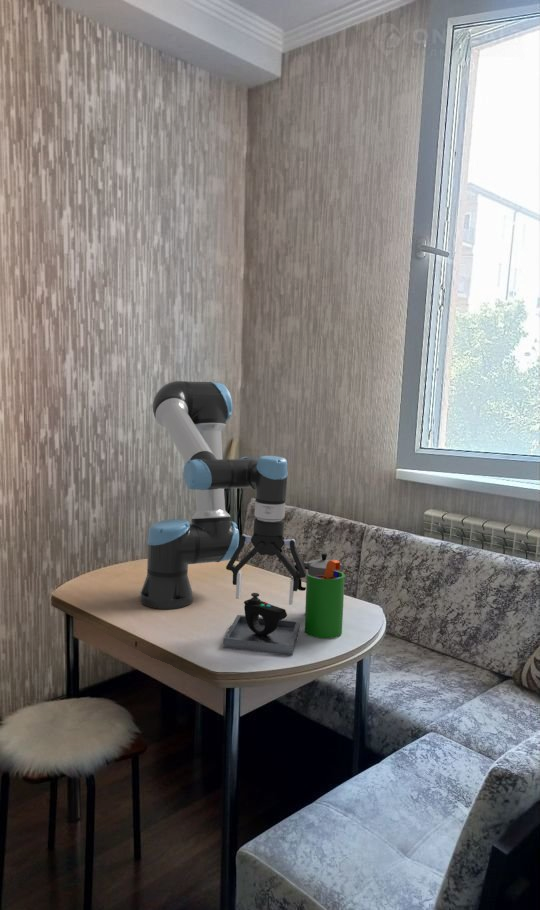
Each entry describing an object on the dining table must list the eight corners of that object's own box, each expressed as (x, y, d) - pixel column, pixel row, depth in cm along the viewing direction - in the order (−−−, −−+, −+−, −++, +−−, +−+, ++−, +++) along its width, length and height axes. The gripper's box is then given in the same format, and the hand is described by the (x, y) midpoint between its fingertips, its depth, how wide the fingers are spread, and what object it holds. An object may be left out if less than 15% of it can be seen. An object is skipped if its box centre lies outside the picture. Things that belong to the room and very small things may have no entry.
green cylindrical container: (321, 622, 189) (325, 551, 187) (349, 631, 184) (353, 558, 181) (299, 632, 181) (303, 558, 179) (327, 642, 176) (332, 565, 174)
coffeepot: (338, 609, 201) (342, 549, 199) (348, 621, 192) (352, 558, 190) (286, 610, 198) (290, 549, 196) (294, 622, 189) (297, 558, 187)
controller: (250, 626, 181) (252, 589, 180) (287, 639, 174) (290, 601, 172) (239, 630, 178) (241, 593, 177) (277, 644, 170) (279, 605, 169)
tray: (237, 623, 185) (237, 614, 185) (299, 630, 183) (300, 621, 183) (223, 648, 169) (224, 638, 168) (292, 655, 166) (293, 645, 166)
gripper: (217, 517, 170) (213, 599, 173) (317, 526, 167) (312, 610, 170) (223, 510, 178) (219, 590, 180) (320, 519, 174) (314, 600, 177)
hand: (264, 600), depth 175 cm, fingers open, 13 cm apart
